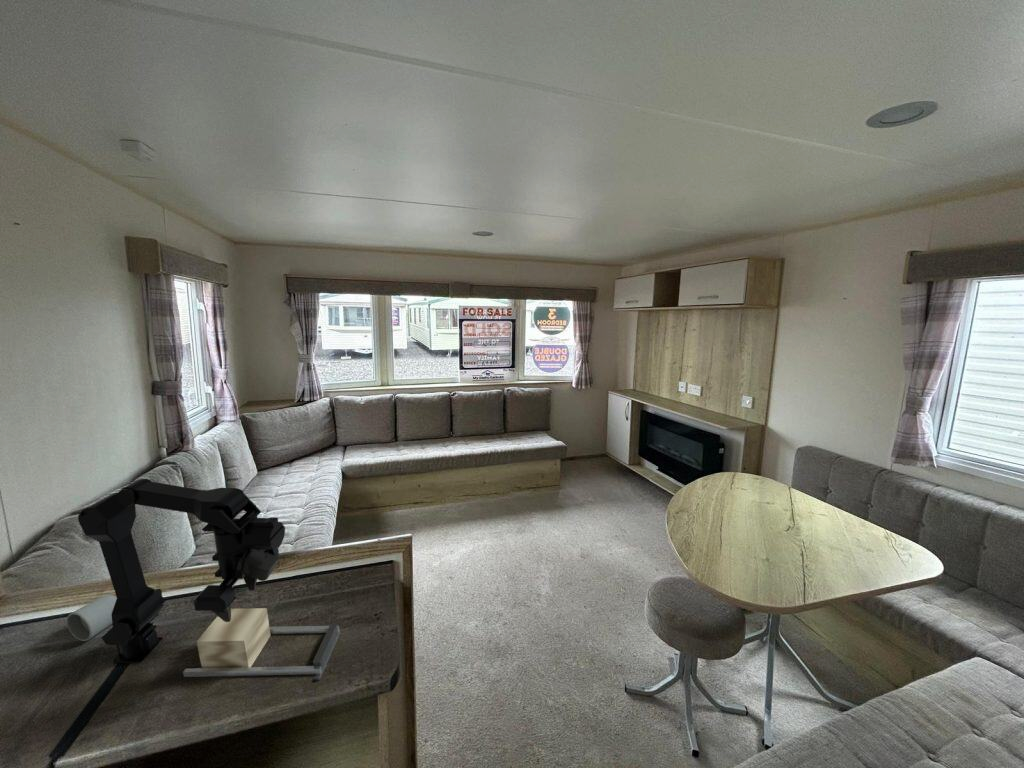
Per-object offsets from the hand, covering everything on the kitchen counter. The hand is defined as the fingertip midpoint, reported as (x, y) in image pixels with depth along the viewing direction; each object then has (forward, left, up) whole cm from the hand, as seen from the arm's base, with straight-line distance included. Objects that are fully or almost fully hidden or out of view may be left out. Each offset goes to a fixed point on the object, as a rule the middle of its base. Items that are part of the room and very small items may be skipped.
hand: (240, 604), depth 92 cm
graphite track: (+5, -1, -13) cm, 14 cm away
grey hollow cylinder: (-41, +8, -14) cm, 44 cm away
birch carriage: (-1, -1, -12) cm, 12 cm away
